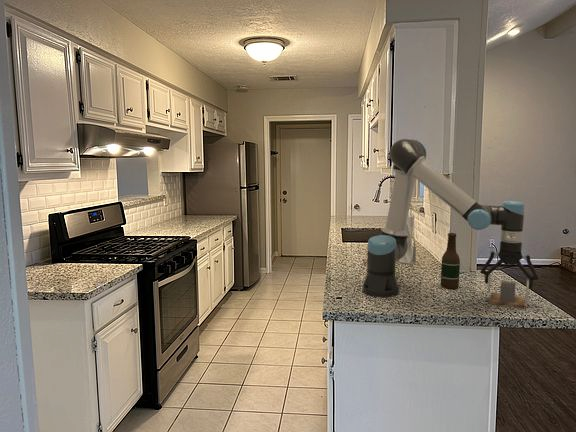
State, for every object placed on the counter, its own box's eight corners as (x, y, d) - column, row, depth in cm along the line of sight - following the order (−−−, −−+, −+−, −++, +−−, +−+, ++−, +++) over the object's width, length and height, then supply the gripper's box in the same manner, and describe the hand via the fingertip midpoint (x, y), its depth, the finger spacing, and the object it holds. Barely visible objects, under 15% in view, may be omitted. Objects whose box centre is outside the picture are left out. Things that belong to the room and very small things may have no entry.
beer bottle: (462, 288, 189) (465, 234, 186) (445, 289, 188) (448, 235, 185) (452, 283, 197) (455, 231, 194) (436, 284, 196) (439, 232, 192)
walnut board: (489, 303, 171) (489, 300, 170) (491, 294, 181) (491, 292, 181) (524, 308, 165) (524, 305, 165) (523, 299, 176) (524, 296, 175)
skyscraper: (411, 265, 230) (413, 212, 226) (396, 263, 234) (397, 211, 231) (416, 262, 237) (418, 211, 233) (401, 260, 241) (403, 210, 238)
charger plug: (499, 300, 170) (500, 285, 170) (500, 293, 179) (501, 279, 178) (514, 302, 168) (515, 287, 167) (514, 295, 177) (515, 281, 176)
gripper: (475, 239, 172) (472, 291, 175) (548, 245, 161) (544, 301, 164) (477, 236, 179) (474, 286, 182) (547, 242, 167) (543, 295, 170)
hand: (507, 293), depth 173 cm, fingers open, 13 cm apart
